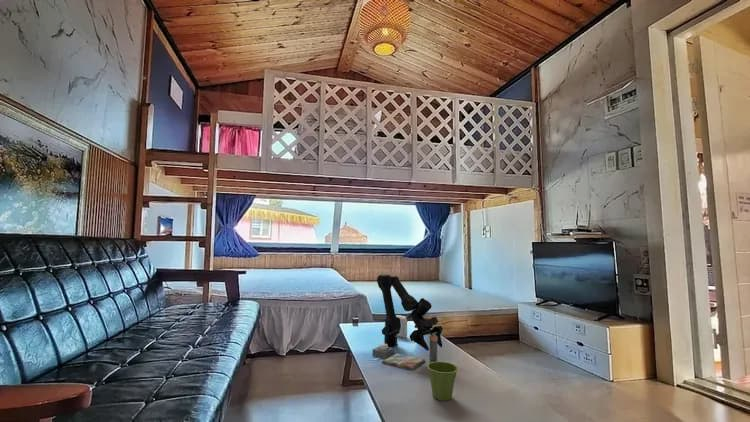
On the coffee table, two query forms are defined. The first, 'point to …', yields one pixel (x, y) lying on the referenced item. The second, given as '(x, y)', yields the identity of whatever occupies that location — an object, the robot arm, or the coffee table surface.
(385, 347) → the button
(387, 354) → the button housing
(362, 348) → the coffee table surface
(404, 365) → the picture board
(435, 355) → the marker
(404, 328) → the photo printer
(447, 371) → the plant pot
